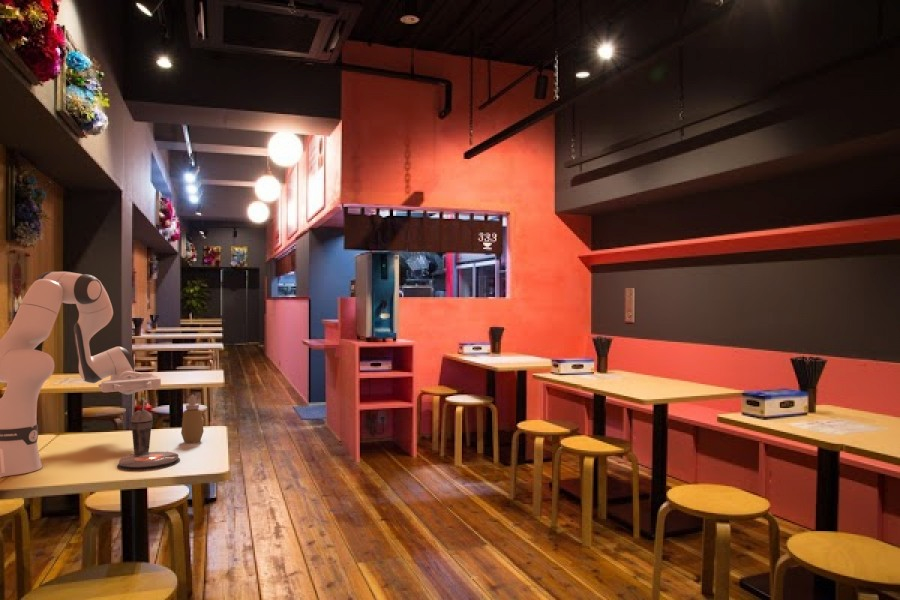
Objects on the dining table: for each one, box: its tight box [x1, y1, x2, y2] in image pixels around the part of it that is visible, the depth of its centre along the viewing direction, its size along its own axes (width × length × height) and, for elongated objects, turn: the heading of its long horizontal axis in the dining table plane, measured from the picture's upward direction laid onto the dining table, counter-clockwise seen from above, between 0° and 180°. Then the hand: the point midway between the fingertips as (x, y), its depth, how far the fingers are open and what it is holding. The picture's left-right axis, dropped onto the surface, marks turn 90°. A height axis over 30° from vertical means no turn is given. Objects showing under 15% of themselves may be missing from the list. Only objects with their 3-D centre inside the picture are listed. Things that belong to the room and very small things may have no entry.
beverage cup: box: [130, 396, 154, 454], centre depth 224 cm, size 7×7×20 cm
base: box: [116, 457, 181, 472], centre depth 211 cm, size 19×19×1 cm
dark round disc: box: [118, 451, 179, 469], centre depth 211 cm, size 18×18×1 cm
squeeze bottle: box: [180, 394, 205, 444], centre depth 244 cm, size 8×8×18 cm
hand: (135, 386), depth 234 cm, fingers open, 8 cm apart
